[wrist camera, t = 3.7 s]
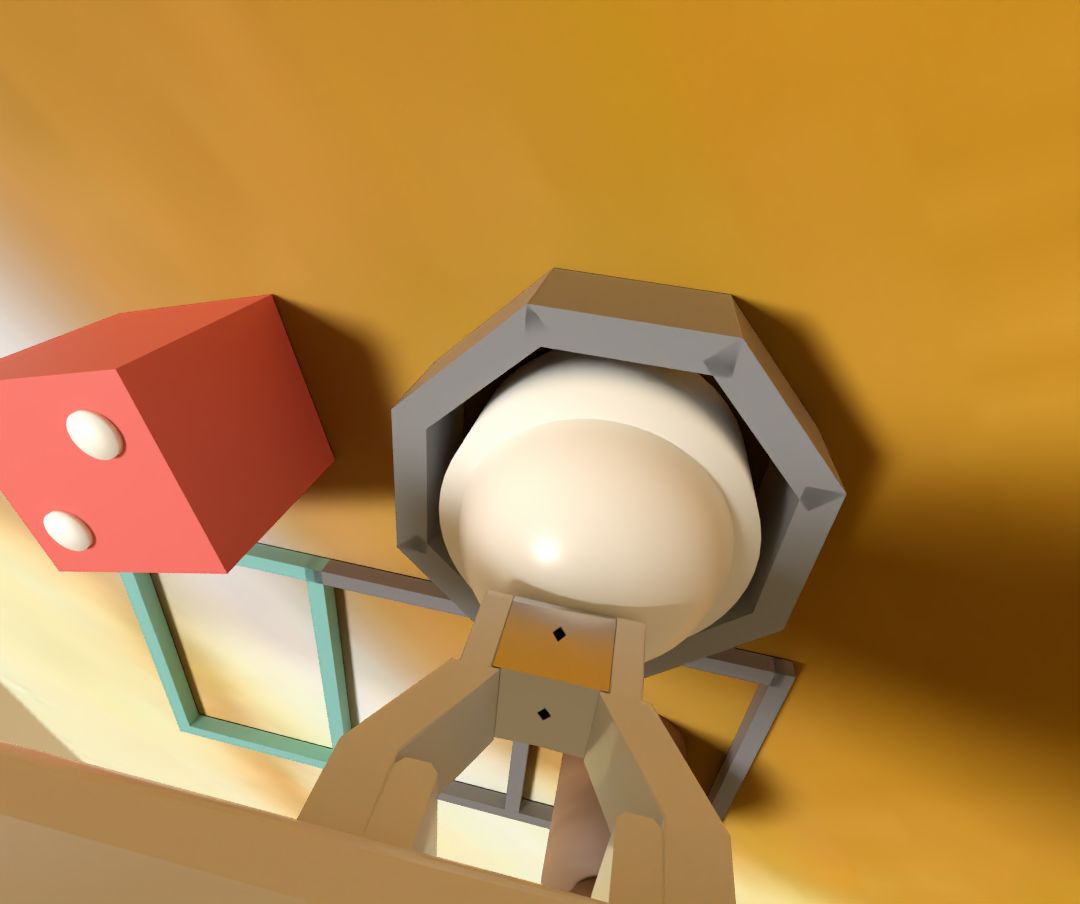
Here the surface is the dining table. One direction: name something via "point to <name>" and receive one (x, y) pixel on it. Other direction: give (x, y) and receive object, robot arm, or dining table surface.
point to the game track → (418, 592)
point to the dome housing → (648, 338)
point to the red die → (159, 437)
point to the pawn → (581, 827)
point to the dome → (606, 495)
